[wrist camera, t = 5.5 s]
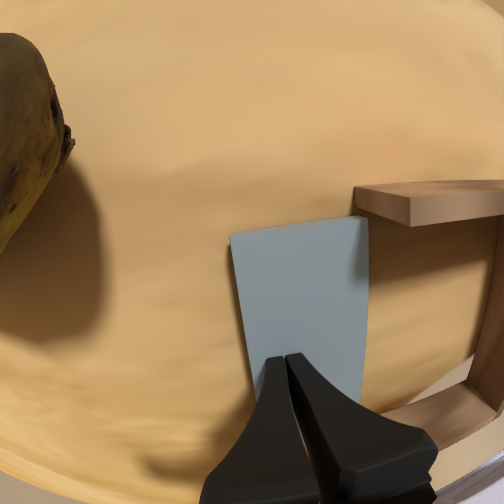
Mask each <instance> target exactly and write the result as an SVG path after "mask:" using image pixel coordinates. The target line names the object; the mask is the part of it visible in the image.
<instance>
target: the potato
mask: <svg viewBox="0 0 504 504" xmlns="http://www.w3.org/2000/svg"><path fill="white" fill-rule="evenodd" d="M74 145H75V139H71V129H70V127H69V126H67V125H65V124H64V119H63V113H62V109H61V107H60V104H59V100H58V97H57V94H56V90H55V85H54V84H53V82H52V80H51V78H50V76H49V73H48V70H47V67H46V64H45V62H44V59H43V57H42V55H41V53H40V52H39V50H38V49H37V48H36V47H35V46H34V45H33V44H32V42H30V41H28V40H27V39H25V38H24V37H22V36H20V35H17V34H14V33H0V255H1V253H2V251H3V250H4V248H5V247H6V245H7V243H8V242H9V240H10V239H11V237H12V236H13V235H14V233H15V232H16V231H17V229H18V228H19V227H20V225H21V224H22V223H23V221H24V220H25V219H26V217H27V216H28V214H29V213H30V211H31V210H32V208H33V207H34V205H35V203H36V202H37V200H38V198H39V197H40V195H41V194H42V192H43V190H44V189H45V187H46V185H47V184H48V182H49V180H50V178H51V176H52V174H53V172H54V171H55V173H56V174H57V173H58V170H59V167H60V165H61V164H62V169H63V167H64V165H65V162H66V160H67V159H68V157H69V155H70V153H71V151H72V149H73V146H74Z"/></svg>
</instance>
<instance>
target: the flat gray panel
mask: <svg viewBox="0 0 504 504" xmlns="http://www.w3.org/2000/svg"><path fill="white" fill-rule="evenodd" d="M229 239H230V245H231V252H232V258H233V265H234V271H235V277H236V284H237V290H238V296H239V302H240V308H241V314H242V321H243V327H244V332H245V338H246V344H247V350H248V356H249V362H250V367H251V373H252V379H253V384H254V390H255V395H256V401H257V400H258V398H259V395H260V392H261V388H262V384H263V380H264V375H265V367H266V363H265V360H266V359H267V358H270V357H276V356H282V355H283V358H284V361H285V364H286V369H287V362H286V355H288V354H294V353H299V352H301V353H302V354H304V356H305V357H306V358H307V360H308V361H309V362H310V363H311V364H312V365H313V366H314V367H315V368H316V370H317V371H318V372H319V373H320V374H321V375H323V376H324V377H325V378H326V379H327V380H328V381H329V382H330V383H331V384H332V385H333V386H335V387H336V388H337V389H338V390H340V391H341V392H342V393H344V394H345V395H346V396H348V397H349V398H350V399H352V400H354V401H355V402H357V403H358V404H359V401H360V394H361V386H362V378H363V369H364V358H365V347H366V334H367V317H368V291H369V237H368V218H365V217H362V216H359V215H355V216H348V217H341V218H333V219H326V220H319V221H312V222H305V223H298V224H291V225H284V226H277V227H271V228H264V229H257V230H251V231H244V232H238V233H231V234H229ZM287 377H288V373H287ZM289 394H290V393H289ZM290 401H291V398H290ZM291 406H292V402H291ZM292 409H293V407H292ZM293 412H294V411H293ZM294 416H295V414H294ZM295 419H296V417H295ZM296 423H297V420H296ZM297 426H298V423H297ZM298 429H299V432H300V435H301V438H302V441H303V444H304V447H305V446H306V445H305V443H304V440H303V437H302V434H301V431H300V428H299V426H298Z"/></svg>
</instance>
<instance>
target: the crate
mask: <svg viewBox="0 0 504 504" xmlns="http://www.w3.org/2000/svg"><path fill="white" fill-rule="evenodd" d="M354 191H355V205H356V207H358V208H360V209H363V210H366V211H369V212H372V213H375V214H377V215H380V216H383V217H385V218H388V219H391V220H394V221H396V222H399V223H401V224H404V225H407V226H409V227H414V226H422V225H429V224H436V223H444V222H451V221H458V220H466V219H473V218H481V217H488V216H496V215H498V230H497V243H496V253H495V262H494V269H493V276H492V282H491V288H490V294H489V299H488V304H487V309H486V314H485V318H484V322H483V326H482V330H481V334H480V338H479V341H478V345H477V348H476V352H475V355H474V358H473V361H472V365H471V368H470V371H469V373H468V377H467V379H466V380H464V381H462V382H460V383H458V384H456V385H454V386H451V387H449V388H447V389H445V390H443V391H441V392H438V393H436V394H433V395H431V396H429V397H426V398H424V399H421V400H419V401H416V402H414V403H411V404H408V405H406V406H403V407H400V408H397V409H394V410H391V411H388V412H385V413H382V414H379V415H381V416H383V417H386V418H388V419H391V420H394V421H397V422H399V423H403V424H406V425H410V426H414V427H418V428H422V429H424V430H425V431H426V433H427V434H428V435H429V436H430V437H431V438H432V440H433V441H434V443H435V444H436V446H437V447H438V452H439V451H441V450H443V449H445V448H447V447H449V446H451V445H453V444H455V443H457V442H458V441H460V440H462V439H464V438H465V437H467V436H469V435H470V434H472V433H474V432H476V431H477V430H479V429H481V428H482V427H484V426H485V425H487V424H488V423H490V422H492V421H493V420H495V419H496V418H497V417H499V416H500V415H501V413H502V411H503V409H504V180H462V181H433V182H412V183H396V184H381V185H368V186H355V187H354Z"/></svg>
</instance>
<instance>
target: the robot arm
mask: <svg viewBox="0 0 504 504" xmlns="http://www.w3.org/2000/svg"><path fill="white" fill-rule="evenodd" d="M286 362H287V369H286V364H285V361H284V358H283V355H282V356H276V357H270V358H267V359H266V360H265V363H266V367H265V375H264V380H263V384H262V388H261V392H260V395H259V398H258V400H257V403H256V406H255V408H254V411H253V413H252V415H251V417H250V419H249V421H248V423H247V425H246V427H245V429H244V430H243V432H242V434H241V436H240V437H239V439H238V440H237V442H236V443H235V445H234V446H233V447H232V449H231V450H230V451H229V453H228V454H227V455H226V456H225V458H224V459H223V460H222V461H221V462H220V463H219V464H218V465H217V467H216V468H215V469H214V470H213V471H212V472H211V473H210V474H209V475H208V476H207V478H206V480H205V483H204V485H203V488H202V492H201V496H200V501H199V504H504V449H503V450H502V451H501V452H499V453H498V454H497V455H495V456H494V457H492V458H491V459H489V460H488V461H486V462H485V463H484V464H482V465H481V466H479V467H477V468H476V469H474V470H473V471H472V472H470V473H468V474H466V475H465V476H463V477H461V478H460V479H458V480H456V481H454V482H453V483H451V484H449V485H447V486H445V487H444V488H442V489H440V490H438V491H436V492H434V490H433V488H432V487H431V485H430V483H429V482H431V480H432V478H431V476H430V475H429V473H428V471H429V470H430V468H431V466H432V465H433V463H434V461H435V460H436V457H437V455H438V447H437V446H436V444H435V443H434V441H433V440H432V438H431V437H430V436H429V435H428V434H427V433H426V431H425V430H424V429H422V428H418V427H414V426H410V425H406V424H403V423H399V422H397V421H394V420H391V419H388V418H386V417H383V416H381V415H379V414H377V413H375V412H373V411H371V410H369V409H367V408H365V407H363V406H362V405H360V404H358V403H357V402H355V401H354V400H352V399H350V398H349V397H348V396H346V395H345V394H344V393H342V392H341V391H340V390H338V389H337V388H336V387H335V386H333V385H332V384H331V383H330V382H329V381H328V380H327V379H326V378H325V377H324V376H323V375H321V374H320V373H319V372H318V371H317V370H316V368H315V367H314V366H313V365H312V364H311V363H310V362H309V361H308V360H307V358H306V357H305V356H304V354H302V353H301V352H299V353H294V354H288V355H286ZM287 373H288V377H287ZM289 393H290V394H289ZM290 398H291V401H290ZM291 402H292V406H291ZM292 407H293V409H292ZM293 411H294V412H293ZM294 414H295V416H294ZM295 417H296V419H295ZM296 420H297V423H298V426H299V428H300V431H301V434H302V437H303V440H304V443H305V445H306V448H307V451H308V455H309V458H310V461H309V458H308V456H307V453H306V450H305V447H304V444H303V441H302V438H301V435H300V432H299V429H298V426H297V423H296ZM310 462H311V464H310Z"/></svg>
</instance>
